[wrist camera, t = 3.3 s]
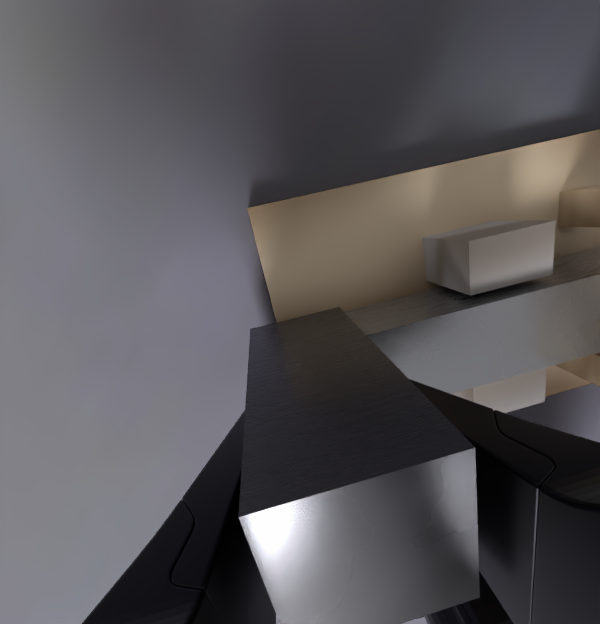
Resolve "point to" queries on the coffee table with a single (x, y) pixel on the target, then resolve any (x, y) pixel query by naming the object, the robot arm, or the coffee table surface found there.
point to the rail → (417, 203)
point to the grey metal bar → (388, 441)
